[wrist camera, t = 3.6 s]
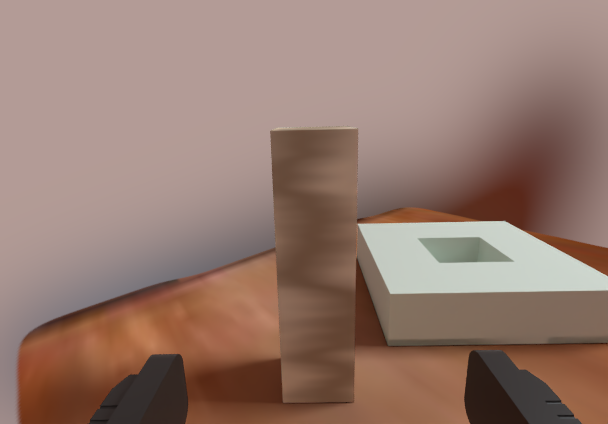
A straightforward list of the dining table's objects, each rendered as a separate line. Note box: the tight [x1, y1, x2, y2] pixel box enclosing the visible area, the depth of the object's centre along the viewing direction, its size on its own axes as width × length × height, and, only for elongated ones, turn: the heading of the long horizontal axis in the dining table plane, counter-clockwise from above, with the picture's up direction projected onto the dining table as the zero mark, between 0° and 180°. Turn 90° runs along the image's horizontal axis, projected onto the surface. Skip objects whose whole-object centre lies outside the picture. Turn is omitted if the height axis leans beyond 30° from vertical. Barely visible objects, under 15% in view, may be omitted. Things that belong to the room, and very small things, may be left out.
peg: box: [270, 126, 358, 403], centre depth 20 cm, size 4×4×15 cm
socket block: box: [357, 221, 608, 346], centre depth 32 cm, size 16×16×4 cm
